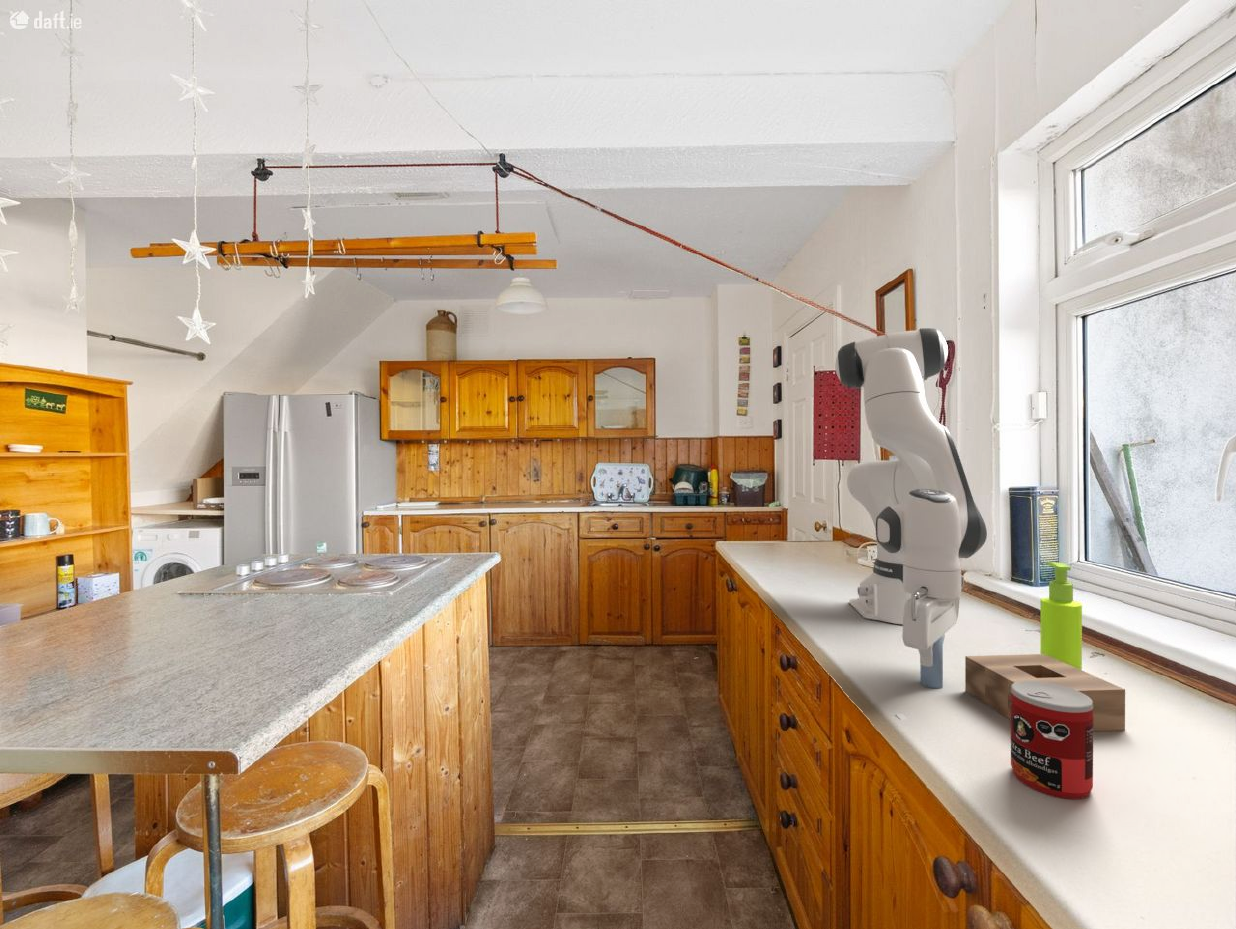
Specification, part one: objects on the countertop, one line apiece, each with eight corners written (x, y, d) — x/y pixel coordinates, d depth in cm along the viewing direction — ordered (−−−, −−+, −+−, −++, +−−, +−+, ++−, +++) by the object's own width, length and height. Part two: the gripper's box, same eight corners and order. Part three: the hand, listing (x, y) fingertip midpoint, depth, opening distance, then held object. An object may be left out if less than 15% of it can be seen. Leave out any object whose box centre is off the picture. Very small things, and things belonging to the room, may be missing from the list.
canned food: (995, 765, 70) (995, 681, 70) (1052, 761, 70) (1052, 678, 70) (1047, 803, 62) (1047, 708, 62) (1111, 798, 63) (1111, 705, 63)
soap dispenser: (1069, 666, 102) (1070, 561, 101) (1088, 680, 95) (1088, 568, 95) (1032, 662, 104) (1033, 559, 103) (1048, 676, 97) (1048, 566, 97)
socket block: (965, 691, 91) (965, 656, 91) (1044, 688, 92) (1044, 654, 92) (1032, 733, 77) (1032, 692, 77) (1124, 730, 78) (1125, 689, 78)
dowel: (916, 680, 96) (916, 619, 96) (934, 680, 96) (934, 619, 96) (928, 688, 92) (928, 625, 92) (947, 688, 93) (947, 624, 92)
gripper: (934, 597, 84) (934, 684, 85) (966, 575, 99) (966, 650, 99) (891, 590, 89) (892, 673, 89) (928, 571, 103) (928, 642, 104)
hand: (931, 661), depth 94 cm, fingers open, 4 cm apart
